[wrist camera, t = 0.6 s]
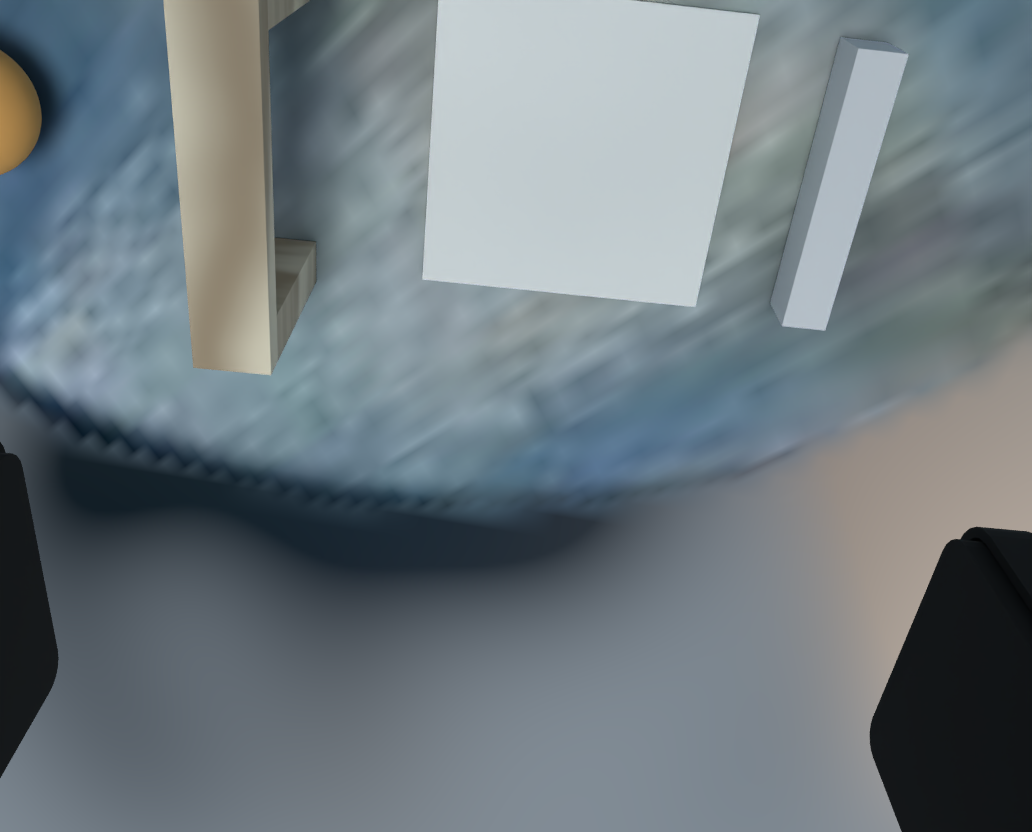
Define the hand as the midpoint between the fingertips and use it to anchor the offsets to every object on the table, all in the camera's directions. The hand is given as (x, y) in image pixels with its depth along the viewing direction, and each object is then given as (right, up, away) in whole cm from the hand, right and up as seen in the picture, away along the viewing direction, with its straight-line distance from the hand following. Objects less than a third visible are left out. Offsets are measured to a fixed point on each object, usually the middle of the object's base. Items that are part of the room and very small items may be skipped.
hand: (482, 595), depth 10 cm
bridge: (-10, +15, +31) cm, 36 cm away
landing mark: (+3, +13, +32) cm, 35 cm away
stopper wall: (+14, +12, +32) cm, 37 cm away
